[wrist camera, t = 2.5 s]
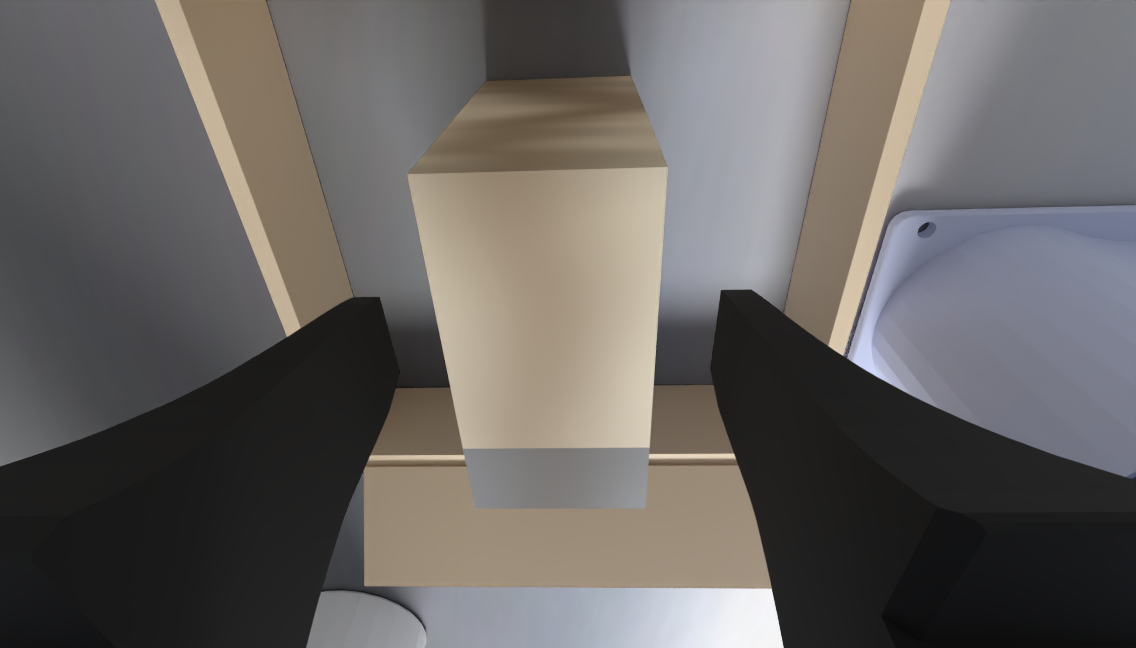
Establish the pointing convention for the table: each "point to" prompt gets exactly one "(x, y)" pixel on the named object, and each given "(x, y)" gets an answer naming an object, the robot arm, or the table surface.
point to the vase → (363, 623)
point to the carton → (679, 412)
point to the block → (548, 287)
